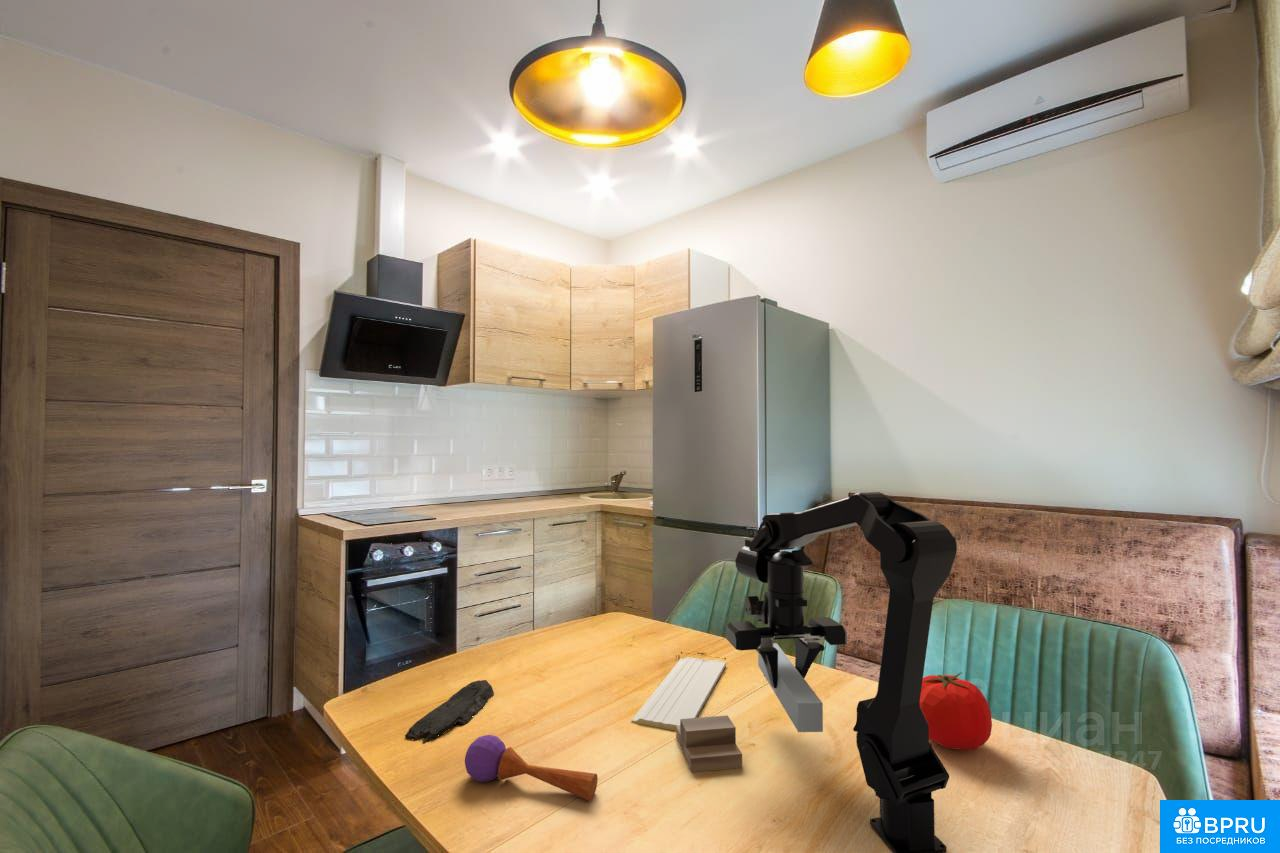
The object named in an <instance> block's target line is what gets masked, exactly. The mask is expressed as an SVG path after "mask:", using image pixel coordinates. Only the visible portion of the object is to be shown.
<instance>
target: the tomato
mask: <svg viewBox="0 0 1280 853" xmlns="http://www.w3.org/2000/svg"><path fill="white" fill-rule="evenodd" d="M962 673H963V672H962V671H961V672H959V673H958V674H957V673H956V675H954V674H953V675H951V674H943V675H942V674H938V675H934V674H933V675H932V674H931V675H927V676H923V680H922V688H921V695H920V708H921V710H922V712H923V714H924V716H925V718H926V720H927V723H928V726H929V741H932V742H935V743H936V744H939V745H941V746H943V747H944V748H948V749H953V750H962V751H963V750H964V751H971V750H972V751H973V750H976V749H978V748H980V747H983V746H984V745H985V744H986V743H987V742H988V741H989V739H990V736H991V734H992V728H993V721H992V720H993V719H992V714H991V713H992V712H991V709H990V706H989V703H988V700H987V698H986V697H985V695H984V694H983V692H982V691H981V690H980V689H979V687H978V686H977V685H976V684H973V683H972V682H970V681H968V680H966V679H965V680H964V679H959V678H958V677H959V676H961V674H962Z"/></svg>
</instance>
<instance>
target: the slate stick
mask: <svg viewBox="0 0 1280 853" xmlns="http://www.w3.org/2000/svg"><path fill="white" fill-rule="evenodd" d="M773 647H775V648H776V649H777V650H778V682H777V688H773V687H772V685H771V682H770V679H769V676H768V673H767V670H766V667H765V664H764V661H763V659H762V657H761V654H760V653H758V654H757V658H758V659H757V660H758V662H757V664H758V667H759V669H760V671H761V673H762V675H763V676H764V677H765V680H766V681H767V682H768V684H769V686H770V687H771V689H772V691H773V692H774V694H775V696H776V697H777V699H778V701H779V702H780V704H781V706H782V708H783V709H784V711H785V713H786V714H787V716H788V717H789V719H790V721H791V722H792V724H793V726H794V727H795V728H794V729H796V730H797V732H798V733H817V732H818V733H824V717H823V714H824V712H823V710H824V709H823V702H822V700H821V699H820V698H819V696H818V695H817V694H816V692H815V691H814V690H813V688H811V685H810V684H809V683H808V682H807V681H806V679H805V678H803V677H802V675H801V674H800V673H799V672H798V670H797V669H796V668H795V664H794V663H793V662H792V661H791V660H790V659H789V657H788V656H787V655H786V653H785V652H784V650H783V649H782V648H781V647H780V646H779V644H778V643H775V642H773Z"/></svg>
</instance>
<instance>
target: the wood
mask: <svg viewBox="0 0 1280 853" xmlns="http://www.w3.org/2000/svg"><path fill="white" fill-rule="evenodd" d="M494 695H495V692H494V690H493V686H492V685H491V683H489V682H488V680H487V679H482V680H476V681H471V682H470V683H468V684H467V685H465V686H463V687H462V688H460V689H459V690H458V691H456V692H455V693H454V694H452V695H451V696H450V697H449V699H448V700H446V701H445V702H443V703H441V704H440V705H439V706H437V707H436V708H434V709H433V710H431V711H429V712H428V713H426V715H424V716H423V717H421V718H420V719H418V720H417V721H416V722H415V723H414V724H412V726H411V727H409V728H408V731H407V732H406V734H405V735H404V736H405V738H406V737H407V738H408V739H415V740H416V739H418V740H420V739H422V738H424V740H423V739H422V744H425V743H426V742H427V741H430V740H429V739H432V740H434V739H437V738H438V737H439V736H438V735H440V736H442V735H444V734H445V733H446V732H448V731H449V730H451V729H452V728H453V727H454V726H455V725H457V724H458V725H461V726H462V725H465V723H466V724H468V723H469V722H470V721H472V719H474V717H475V716H476V715H478V714H479V713H480V712H481V711H482V710H483V709H484V708H485V705H486V703H487V702H488V701H489V700H490V699H491V698H492V697H494ZM491 696H492V697H491ZM489 698H490V699H489ZM488 699H489V700H488ZM483 707H484V708H483ZM481 709H482V710H481ZM480 710H481V711H480ZM479 711H480V712H479ZM478 712H479V713H478ZM477 713H478V714H477ZM475 714H476V715H475ZM474 715H475V716H474ZM472 716H474V717H472ZM454 724H455V725H454ZM453 725H454V726H453ZM452 726H453V727H452ZM451 727H452V728H451ZM450 728H451V729H450ZM448 729H449V730H448ZM447 730H448V731H447ZM445 731H446V732H445ZM444 732H445V733H444ZM443 733H444V734H443ZM441 734H442V735H441ZM437 736H438V737H437ZM407 738H406V739H407ZM419 738H420V739H419ZM408 739H407V740H408ZM415 740H414V741H415ZM416 741H417V740H416Z"/></svg>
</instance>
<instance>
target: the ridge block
mask: <svg viewBox="0 0 1280 853" xmlns="http://www.w3.org/2000/svg"><path fill="white" fill-rule="evenodd" d="M736 728H737V727H736V726H735V724H734V722H733V721H732V720H731V718H730V717H729V715H718V716H717V715H715V716H702V717H697V718H687V719H680V725H678V726H676V730H675V731H676V732H675V738H676V741H677V743H678V745H679V747H680V750H681V751H682V752H681V753H682V754H683V756H684V759H685V761H686V764H687V766H688V768H689V770H690V772H691V773H694V772H696V773H697V772H707V771H716V770H717V771H718V770H725V769H726V770H728V769H729V770H730V769H736V768H738V769H739V768H743V753H742V751H741V750H740V748H739V747H738V745H737V742H736V739H737V732H736Z"/></svg>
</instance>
